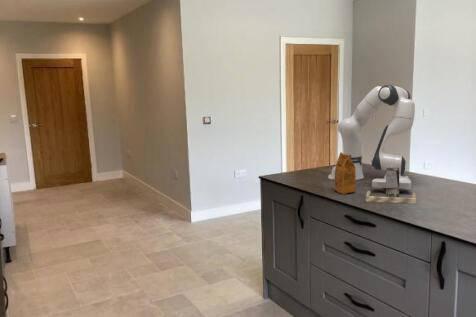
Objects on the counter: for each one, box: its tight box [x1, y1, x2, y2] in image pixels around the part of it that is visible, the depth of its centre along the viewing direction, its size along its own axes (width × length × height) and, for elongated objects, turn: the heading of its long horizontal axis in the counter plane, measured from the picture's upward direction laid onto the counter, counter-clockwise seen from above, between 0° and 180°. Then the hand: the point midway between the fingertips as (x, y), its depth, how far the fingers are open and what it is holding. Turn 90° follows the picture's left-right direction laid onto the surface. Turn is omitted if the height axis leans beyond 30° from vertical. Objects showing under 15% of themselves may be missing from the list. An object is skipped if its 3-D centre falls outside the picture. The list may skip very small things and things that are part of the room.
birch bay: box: [365, 190, 417, 205], centre depth 218 cm, size 24×13×2 cm, turn 68°
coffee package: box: [333, 151, 357, 195], centre depth 237 cm, size 10×12×22 cm
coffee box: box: [385, 168, 400, 198], centre depth 217 cm, size 9×6×16 cm
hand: (390, 187), depth 224 cm, fingers closed
